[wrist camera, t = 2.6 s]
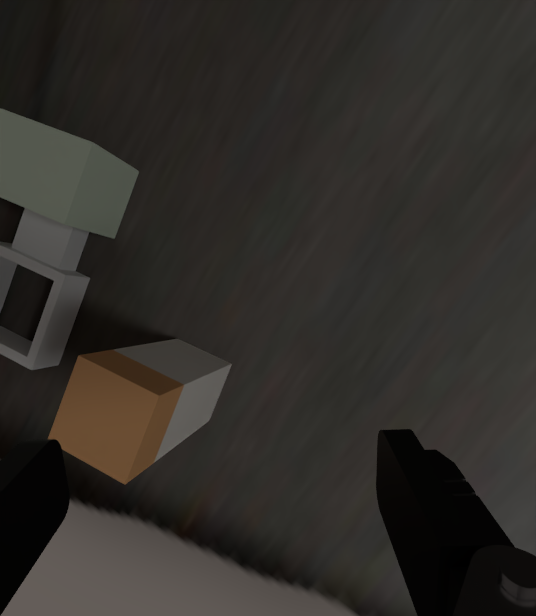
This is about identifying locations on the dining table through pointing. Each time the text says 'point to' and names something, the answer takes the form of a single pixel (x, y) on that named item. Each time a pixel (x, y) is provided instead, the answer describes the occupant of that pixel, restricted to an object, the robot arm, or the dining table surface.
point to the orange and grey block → (137, 404)
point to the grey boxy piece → (55, 222)
